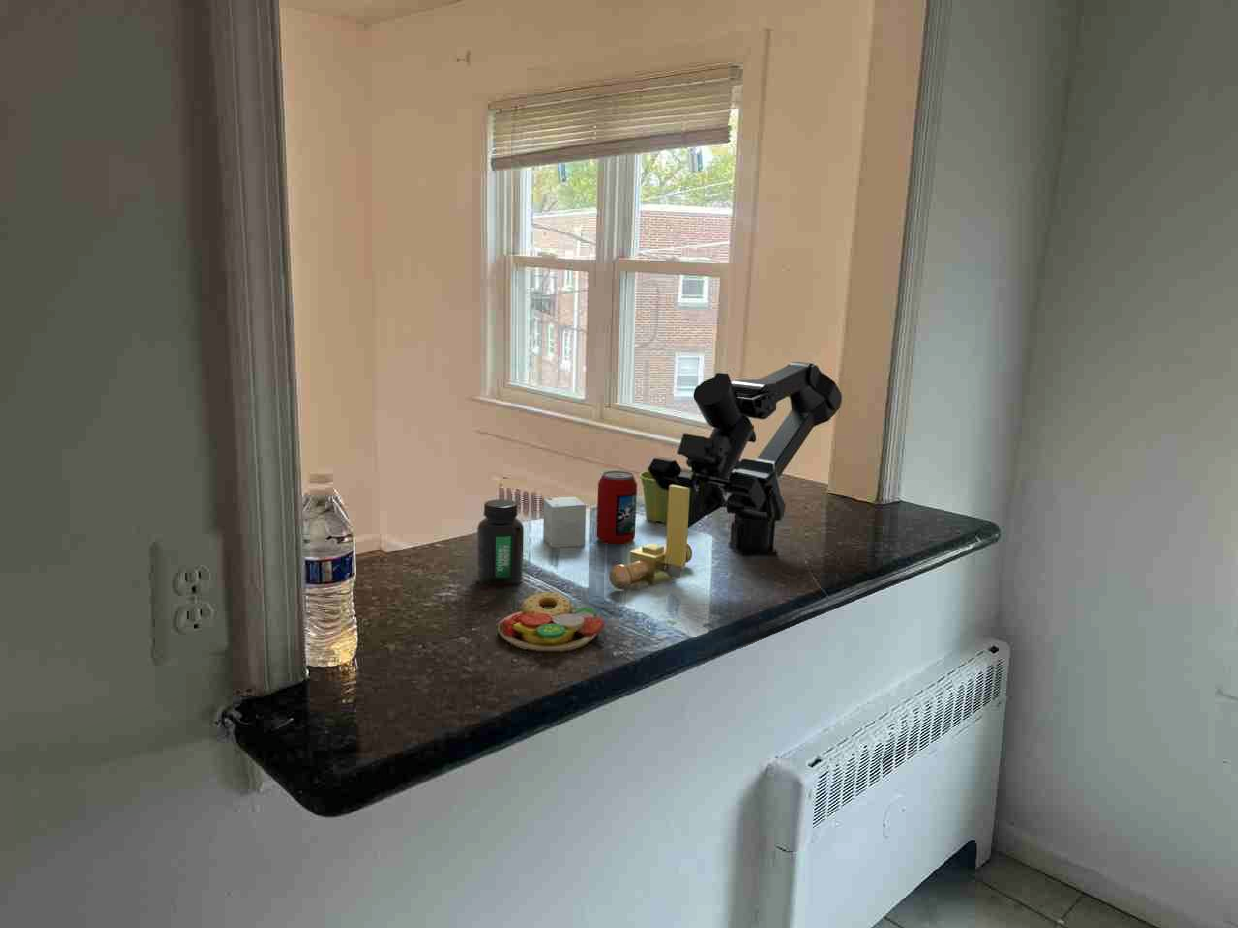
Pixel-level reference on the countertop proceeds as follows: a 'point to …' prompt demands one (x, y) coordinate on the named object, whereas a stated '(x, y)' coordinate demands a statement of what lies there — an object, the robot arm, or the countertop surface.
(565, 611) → the toy food set
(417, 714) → the countertop surface
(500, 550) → the supplement bottle
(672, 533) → the lever
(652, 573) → the valve body
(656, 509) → the plant pot
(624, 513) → the beverage can
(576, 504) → the skincare box
